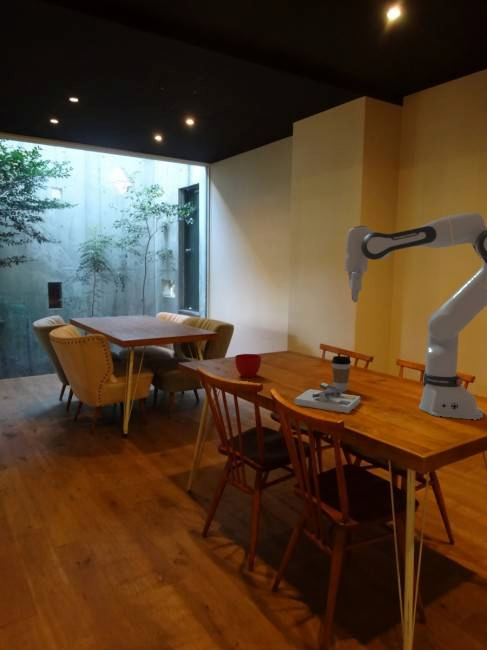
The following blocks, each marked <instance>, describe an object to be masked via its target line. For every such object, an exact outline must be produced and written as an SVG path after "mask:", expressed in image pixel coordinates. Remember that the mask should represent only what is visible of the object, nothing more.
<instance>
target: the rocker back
mask: <svg viewBox="0 0 487 650" xmlns="http://www.w3.org/2000/svg"><path fill="white" fill-rule="evenodd" d="M332 386H333V385H332ZM332 386H331V385H330V384H328V383H326V382H322V383H320V385H319V388H320V389H322V390H326V389H332V390H337V393H336V394H337V395H339V396H340V395H341V394H344V391H342V390H340V389H337V388H335V387H332Z"/></svg>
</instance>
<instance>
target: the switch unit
mask: <svg viewBox="0 0 487 650" xmlns="http://www.w3.org/2000/svg"><path fill="white" fill-rule="evenodd" d="M330 386H332V387H335V388H336V386H334V385H330ZM324 391H332V389H326V390H325V389H323V390H319V389H311V388H310V389H308V390H306V391H304V392H302V394H300V395H298V396H296V397H294V405H295V404H296V406H302V407H308V408H314V409H321V410H327V411H332V412H337V413H338V412H339V413H343V412H344V413H345V414H349V413H351V412H352V411H351V410H352V409H353V410H354V409H355V408H356V407H357V406H358V405H359V404H360V403H361V396H360V395H355V394H354V395H353V394H346V393H342V394H341V395H340V396H339V395H337V394H335V395H331V396H325V394H322V393H320V397H315V398H313V396H312V395H313V394H314V393H315V392H324ZM350 411H351V412H350Z"/></svg>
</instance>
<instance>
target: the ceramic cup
mask: <svg viewBox="0 0 487 650" xmlns="http://www.w3.org/2000/svg"><path fill="white" fill-rule="evenodd" d="M234 357H235V359H234V360H235V367H236V370H237V372H238V374H240V376H241V377H242V378H254V377H255V376H256V375H257V374H258V372H259V371H260V368H261V363H262V355H259V354H255V353H242V354H237V355H235V356H234Z"/></svg>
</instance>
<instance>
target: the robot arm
mask: <svg viewBox="0 0 487 650" xmlns="http://www.w3.org/2000/svg"><path fill="white" fill-rule="evenodd" d="M346 235H347V236H346V240H345V241H346V243H345V251H346V255H345V260H344V261H345V262H344V267H345V268H344V272H347V276H348V286H349V289H350V290H351V291H350V293H351V301H352V302H353V303H358V301H359V300H358V299H359V292H361V291H362V288H363V287H362V286H363V277H364V276H365V274H364V273H365V272H368V261H369V260H375V261H376V260H383V259H386V258H388V257H389V256H390V255H391V254H392V253H393V252H394V251H399V250H404V249H407V248H412V247H413V248H414V247H427V248H434V249H435V248H436V249H437V248H438V249H439V248H448V247H449V248H450V247H454V246H458V245H464V244H471V245H472V248H473V249H474V251H475V253H476V254H477V256H478V257H479V258H480V259H482V265H481V266H480V268H479V269H478V270H477V271H476V272H475V273H474V274H472V276H470V278H468V279H467V280H466V282H465V283H463V284H462V285H461V286H460V287H459V288H458V289H457V290H456V291H455V292H454V293H453V294H452V295H451V296H450V297H449V298H448V299H447V300H446V301H444V303H443V304H442V305H441V306H440V307H439V308H438V309H436V310H434V311H433V312H431V314H430V316H429V317H428V321H427V330H428V331H427V339H426V340H427V343H426V353H425V356H426V357H425V369H424V370H425V371H424V373H423V379H422V386H423V390H422V395H421V399H420V403H419V405H418V408H419V409H420V410H421V411H423V412H425V413H428V414H430V415H432V416H433V415H434V417H440V416H442V418H450V417H451V418H452V419H461V418H462V419H461V420H463V419H464V420H471V419H473V420H474V421H478V420H477V419H479V420H481V419H482V418H483V417H484V411H483V410H482V409H481V408H480V407H478V402H477V399H476V397H475V395H473V394H472V393H471V392H470V391H469V390H468V389H466V387H464V386H463V385H462V384H463V378H462V376H460V375H458V374H457V372H458V371H457V370H458V355H459V337H460V336H459V334H460V333H461V332H462V330H463V329H465V328H466V327H467V326H468V325H469V323H471V322H472V321H473V320H474V318H475V317H476V316H477V315H478V314H479V313H480V312H481V311H482V310H483V309H485V308H486V307H487V226H486V223H485V219H484V218H483V216H482V215H481V214H480V213H478V212H466V213H459V214H458V213H457V214H452V215H448V216H444V217H441V218H437V219H435V220H431V221H429V222H428V223H425V224H423V225H420V226H418V227H416V228H412V229H409V230H408V229H407V230H403V231H398V232H394V233H383V232H379V231H378V232H377V231H375V230H373V229H371V228H369V227H368V226H367V225H359V226H354V227H351V228H350V229H349V230H348V232H347V234H346ZM480 418H481V419H480Z"/></svg>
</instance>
